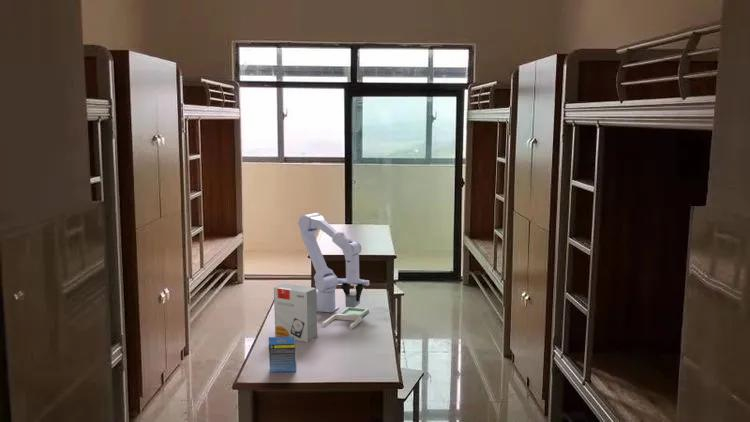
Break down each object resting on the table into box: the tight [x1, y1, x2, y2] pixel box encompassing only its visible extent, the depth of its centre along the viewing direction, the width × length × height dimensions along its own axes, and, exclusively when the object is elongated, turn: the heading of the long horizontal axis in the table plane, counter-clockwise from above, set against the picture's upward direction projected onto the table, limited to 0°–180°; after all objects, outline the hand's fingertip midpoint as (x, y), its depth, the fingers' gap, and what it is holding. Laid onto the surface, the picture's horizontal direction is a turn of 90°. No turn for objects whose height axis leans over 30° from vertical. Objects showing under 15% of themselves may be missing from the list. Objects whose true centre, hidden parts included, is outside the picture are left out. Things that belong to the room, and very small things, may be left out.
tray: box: [338, 307, 370, 318], centre depth 286 cm, size 10×12×2 cm
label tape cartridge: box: [268, 336, 297, 373], centre depth 222 cm, size 9×4×12 cm, turn 92°
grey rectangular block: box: [345, 291, 361, 308], centre depth 284 cm, size 4×7×5 cm, turn 161°
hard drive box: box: [273, 283, 318, 343], centre depth 256 cm, size 16×8×20 cm, turn 62°
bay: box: [321, 313, 363, 330], centre depth 274 cm, size 13×12×2 cm
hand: (353, 300), depth 285 cm, fingers closed on grey rectangular block, 4 cm apart
